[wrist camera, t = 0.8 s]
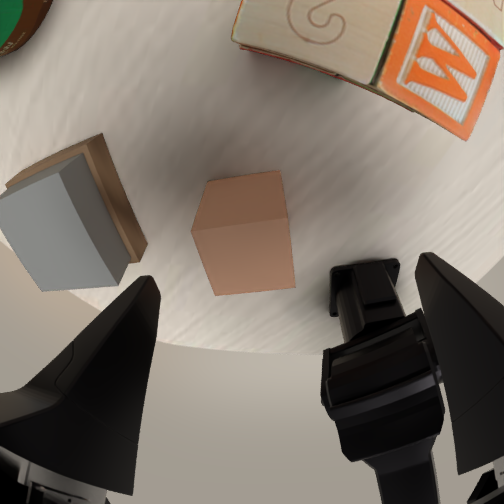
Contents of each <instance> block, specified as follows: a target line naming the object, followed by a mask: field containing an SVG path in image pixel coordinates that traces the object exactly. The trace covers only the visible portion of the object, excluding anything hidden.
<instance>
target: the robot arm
mask: <svg viewBox="0 0 504 504" xmlns="http://www.w3.org/2000/svg"><path fill="white" fill-rule="evenodd" d="M395 264H396V265H395ZM399 269H400V263H399V261H398V260H397V259H393V260H386V261H379V262H372V263H365V264H357V265H350V266H342V267H335V268H333V269H332V270H331V272H330V305H329V313H330V316H331V317H338V316H339V319H340V324H341V328H342V333H343V338H344V344H341V345H339V346H336V347H333V348H331V349H330V348H328V349H325V350H323V359H322V379H321V403H322V405H323V406H325V409H326V411H327V413H328V415H329V417H330V418H331V419H332V420H333V421H335V424H336V427H337V430H338V434H339V439H340V444H341V449H342V453H343V454H344V455H345V456H346V457H347V459H348V460H349V461H351V462H355V461H359V460H362V461H364V462H365V463H366V464H368V465H369V466H370V467H371V468H373V469H374V470H375V474H376V477H377V482H378V486H379V491H380V496H381V501H382V504H440V496H439V488H438V481H437V475H436V469H435V463H434V458H433V452H432V447H433V445H434V442H435V439H436V437H437V435H439V434H440V432H441V428H442V425H443V421H444V414H445V407H444V403H443V398H442V395H441V391H440V387H439V384H440V383H444V387H445V391H446V396H447V401H448V406H449V411H450V417H451V422H452V430H453V436H454V443H455V451H456V461H457V471H458V475H461V474H463V473H466V472H469V471H471V470H473V469H476V468H479V467H481V466H483V465H486V464H488V463H490V462H492V461H493V465H494V468H492V469H491V470H489V471H487V472H485V473H483V474H482V476H481V478H480V480H479V482H478V483H477V485H476V487H475V489H474V491H473V492H472V494H471V496H470V497H469V499H468V501H467V504H504V306H503V305H502V304H501V303H500V302H498V301H497V300H496V299H495V298H493V297H492V296H491V295H490V294H488V293H487V292H486V291H485V290H483V289H482V288H481V287H479V286H478V285H477V284H476V283H474V282H473V281H472V280H470V279H469V278H468V277H466V276H465V275H464V274H462V273H461V272H459V271H458V270H457V269H455V268H454V267H453V266H451V265H450V264H448V263H447V262H445V261H444V260H443V259H441V258H440V257H438V256H437V255H435V254H434V253H432V252H425V253H421V254H420V256H419V260H418V263H417V266H416V270H415V279H416V283H417V287H418V291H419V295H420V299H421V303H422V307H423V311H424V313H423V311H422V309H421V308H419V309H417V310H415V312H414V313H412V314H410V315H408V316H406V315H405V312H404V310H403V307H402V304H401V302H400V299H399V297H398V295H397V292H396V290H395V286H396V282H397V278H398V273H399ZM335 273H336V274H335ZM160 302H161V294H160V291H159V289H158V287H157V285H156V283H155V281H154V278H153V277H152V276H150V275H147V276H140V277H139V278H138V279H136V280H135V281H134V282H133V283H132V284H131V285H130V286H129V287H128V288H127V289H126V290H124V291H123V292H122V293H121V294H120V295H119V296H118V297H117V298H116V299H115V300H114V301H113V302H112V303H111V304H110V305H108V306H107V307H106V308H105V309H104V310H103V311H102V312H101V313H100V314H99V315H98V316H97V317H96V318H95V319H94V320H93V321H92V322H91V323H90V324H89V325H88V326H87V327H86V328H85V329H84V330H83V331H82V332H81V333H80V334H79V335H78V336H77V337H76V338H75V339H74V341H72V342H71V343H70V344H69V345H68V346H67V347H66V348H65V349H64V350H63V351H62V352H61V353H60V354H59V355H58V356H57V357H56V358H54V360H52V361H51V362H50V363H49V364H48V365H47V366H46V367H45V368H43V369H42V370H41V371H40V372H39V373H38V374H37V375H36V376H35V377H34V378H32V380H31V381H29V382H28V383H27V384H26V385H25V386H24V387H22V388H20V389H18V390H15V391H12V392H5V393H0V504H110V502H109V501H108V499H107V498H106V493H107V490H109V491H113V492H118V493H122V494H126V495H130V496H132V495H133V488H134V477H135V468H136V458H137V450H138V441H139V433H140V426H141V419H142V413H143V406H144V401H145V395H146V389H147V382H148V378H149V372H150V367H151V362H152V357H153V352H154V347H155V342H156V337H157V328H158V319H159V310H160ZM424 315H425V316H424Z"/></svg>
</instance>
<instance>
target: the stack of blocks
mask: <svg viewBox="0 0 504 504" xmlns="http://www.w3.org/2000/svg"><path fill="white" fill-rule="evenodd" d="M231 39H232V41H233V42H236V43H238V44H240V45H239V47H240V49H242V50H248V51H253V52H257V53H261V54H265V55H269V56H272V57H276V58H279V59H283V60H286V61H290V62H293V63H297V64H300V65H303V66H306V67H309V68H312V69H315V70H318V71H320V72H323V73H326V74H328V75H330V76H333V77H335V78H338V79H341V80H344V81H346V82H349V83H351V84H354V85H356V86H359V87H361V88H363V89H366V90H368V91H370V92H373V93H375V94H377V95H379V96H382V97H384V98H386V99H387V100H390V101H392V102H394V103H396V104H398V105H400V106H402V107H404V108H405V109H407V110H409V111H411V112H416V113H418V114H420V115H421V116H423V117H425V118H427V119H429V120H430V121H432V122H434V123H436V124H437V125H439V126H441V127H443V128H444V129H446V130H447V131H449V132H451V133H452V134H454V135H456V136H457V137H459V138H460V139H462V140H464V141H468V140H469V138H470V136H471V133H472V131H473V129H474V127H475V124H476V122H477V120H478V117H479V115H480V112H481V110H482V107H483V105H484V102H485V99H486V97H487V94H488V92H489V89H490V87H491V84H492V82H493V78H494V74H495V71H496V68H497V65H498V62H499V59H500V50H502V49H504V0H242V1H241V4H240V7H239V10H238V13H237V16H236V19H235V23H234V26H233V30H232V35H231Z"/></svg>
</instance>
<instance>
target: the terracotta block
mask: <svg viewBox="0 0 504 504" xmlns="http://www.w3.org/2000/svg"><path fill="white" fill-rule="evenodd" d="M191 233H192V236H193V239H194V241H195V244H196V247H197V250H198V252H199V255H200V258H201V260H202V263H203V266H204V268H205V271H206V274H207V276H208V279H209V281H210V284H211V287H212V289H213V292H214V294H215V296H219V295H230V294H240V293H250V292H260V291H269V290H278V289H287V288H295V277H294V267H293V258H292V249H291V240H290V231H289V223H288V216H287V209H286V203H285V197H284V190H283V184H282V178H281V173H280V170H278V171H271V172H263V173H256V174H250V175H243V176H237V177H231V178H225V179H219V180H213V181H208V182H207V185H206V188H205V191H204V193H203V196H202V199H201V202H200V205H199V208H198V211H197V214H196V217H195V220H194V223H193V226H192V229H191Z"/></svg>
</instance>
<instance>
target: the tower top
mask: <svg viewBox="0 0 504 504" xmlns="http://www.w3.org/2000/svg"><path fill="white" fill-rule="evenodd" d="M0 229H1V230H2V232H3V234H4V236H5V237H6V239H7V241H8V242H9V244H10V246H11V247H12V249H13V250H14V252H15V253H16V255H17V257H18V258H19V259H20V261H21V263H22V264H23V266H24V267H25V269H26V270H27V271H28V273H29V274H30V276H31V277H32V279H33V280H34V281H35V283H36V284H37V286H38V287H39V288H40V290H41V291H42V292H43V291H58V290H72V289H85V288H98V287H110V286H118V285H119V283H120V281H121V279H122V277H123V275H124V272H125V270H126V268H127V266H128V264H129V262H130V260H131V256H130V255H129V253H128V251H127V249H126V247H125V245H124V243H123V241H122V239H121V237H120V235H119V233H118V231H117V229H116V227H115V225H114V223H113V221H112V219H111V216H110V214H109V212H108V210H107V208H106V206H105V203H104V201H103V199H102V197H101V195H100V192H99V190H98V188H97V185H96V183H95V181H94V178H93V176H92V173H91V171H90V169H89V166H88V164H87V161H86V159H85V156H84V153H81V154H78V155H76V156H73V157H71V158H68V159H66V160H64V161H62V162H59V163H57V164H55V165H53V166H50V167H48V168H46V169H44V170H42V171H40V172H38V173H36V174H34V175H32V176H30V177H28V178H26V179H24V180H22V181H20V182H18V183H16V184H14V185H12V186H10V187H9V188H8V189H7V190H6V191H5V192H4V193H2V194H1V195H0Z"/></svg>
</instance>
